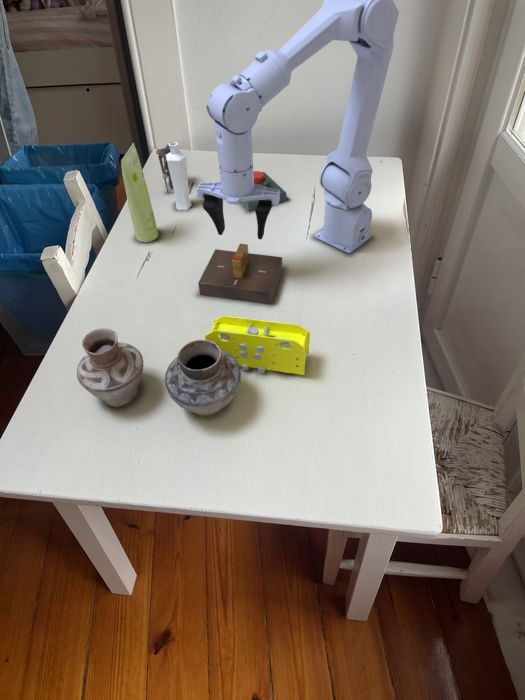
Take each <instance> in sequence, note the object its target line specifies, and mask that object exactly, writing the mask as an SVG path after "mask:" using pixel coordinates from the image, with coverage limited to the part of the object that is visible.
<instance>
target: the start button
mask: <svg viewBox="0 0 525 700" xmlns="http://www.w3.org/2000/svg"><path fill="white" fill-rule="evenodd" d="M262 172H263V171H259V170H253V173H254V184H261V183H263V182H264V174H263V173H262Z"/></svg>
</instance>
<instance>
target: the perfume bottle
mask: <svg viewBox="0 0 525 700" xmlns="http://www.w3.org/2000/svg"><path fill="white" fill-rule="evenodd" d="M170 142H171V143H170ZM170 142H169V143H168V144H169V146H170V153H168V154H166V159H167V163H168V168H169V172H170V176H171V180H172V184H173V188H174V189H173V191H174V195H175V207H176V210H178V211H187V210H189V209H190V208H191V207H192V202H191V200H190V192H189V177H188V164H187V155H186V154H185V153H182V152H181V151H180V150H179V143H178V142H176V141H170ZM179 151H180V152H179Z"/></svg>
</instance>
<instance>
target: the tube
mask: <svg viewBox="0 0 525 700" xmlns="http://www.w3.org/2000/svg"><path fill="white" fill-rule="evenodd" d="M120 165H121V167H120V168H121V174H122V180H123V184H124V185H123V186H124V189H125V194H126V200H127V203H128V204H127V205H128V209H129V214H130V218H131V222H132V226H133V230H134V235H135V238H136V240H137V241H138V242H141V243H151V242H153V241H155V240H156V239H157V238H158V236H159V231H158V226H157V222H156V218H155V214H154V209H153V206H152V201H151V198H150V194H149V189H148V185H147V182H146V178H145V175H144V171H143V167H142V164H141V161H140V157H139V154H138V151H137V148H136V146H135V142H132V144H131V145H130V147H129V149H128V150H127V151H126V153H125V154H124V156H123V157H122V159H121V160H120Z"/></svg>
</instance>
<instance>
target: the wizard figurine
mask: <svg viewBox="0 0 525 700" xmlns="http://www.w3.org/2000/svg"><path fill="white" fill-rule="evenodd" d="M171 142H172V141H170V142H169V143H171ZM169 143H167V144H166V146H165V147H164V148H163V147H162V148H157V149H156V151H155V153H156V155H157V157H158V160H159V165H160V169H161V172H162V176H161V177H162V178H163V181H164V184H165V188H166V192H167V193H169V189H168V186H169V188H170V189H171V190H174V188H173V184H172V180H171V176H170V172H169V168H168V163H167V159H166V154H168V153H170V146H169ZM179 152H180V153H181V151H180V150H179ZM167 179H168V183H167Z"/></svg>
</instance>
